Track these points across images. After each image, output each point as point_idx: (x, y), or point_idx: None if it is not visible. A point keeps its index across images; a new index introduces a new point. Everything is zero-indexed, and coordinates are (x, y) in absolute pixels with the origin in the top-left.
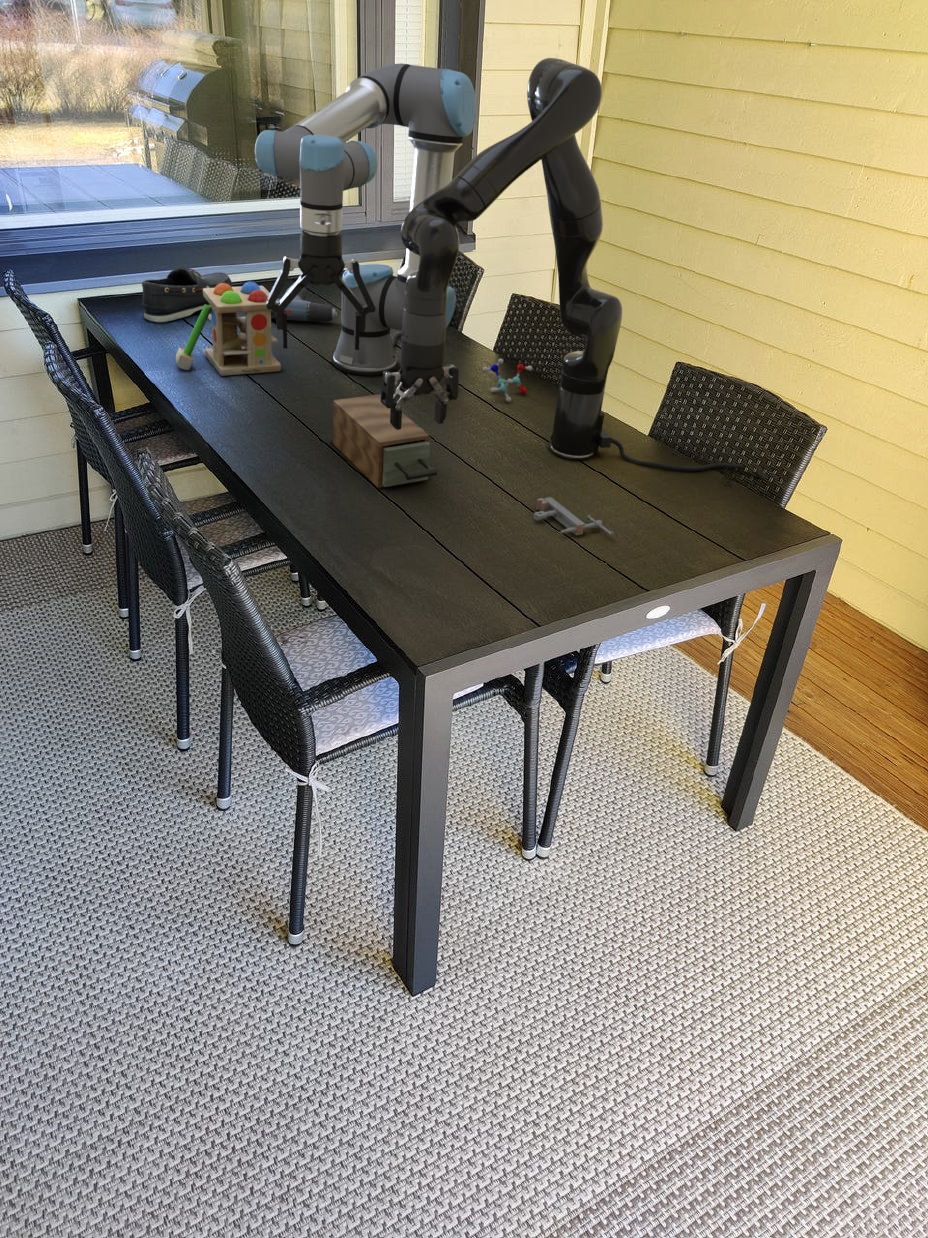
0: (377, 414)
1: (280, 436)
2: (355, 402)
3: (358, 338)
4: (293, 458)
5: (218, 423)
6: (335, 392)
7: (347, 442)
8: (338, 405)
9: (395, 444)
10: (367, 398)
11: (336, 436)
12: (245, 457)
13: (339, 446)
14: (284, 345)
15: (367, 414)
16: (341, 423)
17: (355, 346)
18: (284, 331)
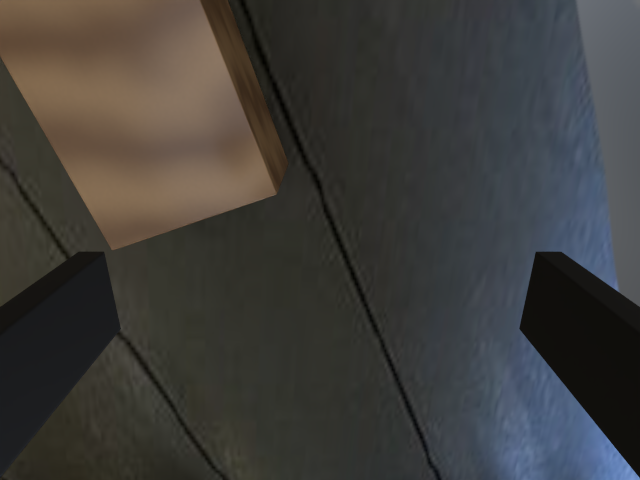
0: (107, 55)
1: (418, 206)
2: (196, 174)
3: (35, 287)
4: (401, 65)
5: None
6: (268, 432)
7: (245, 65)
8: (258, 147)
9: None
10: (154, 211)
11: (276, 143)
12: (529, 74)
13: (271, 120)
14: (563, 260)
15: (147, 55)
16: (256, 115)
17: (90, 259)
18: (629, 309)
